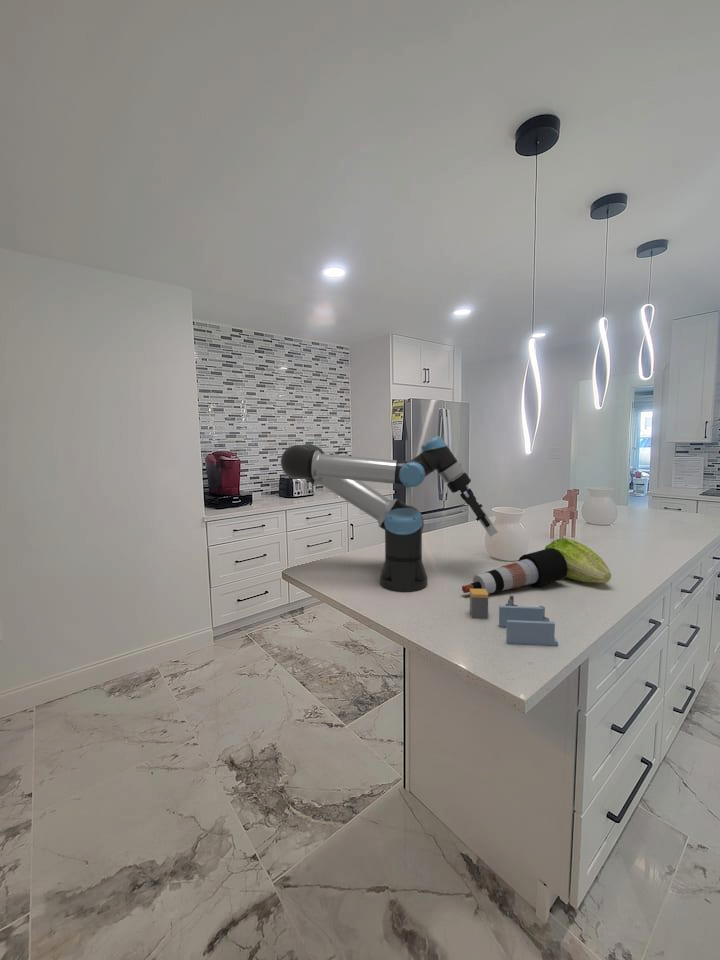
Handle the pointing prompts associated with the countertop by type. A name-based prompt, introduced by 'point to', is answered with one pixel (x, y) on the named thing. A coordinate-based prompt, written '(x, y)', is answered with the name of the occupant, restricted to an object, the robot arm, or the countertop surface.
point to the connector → (479, 603)
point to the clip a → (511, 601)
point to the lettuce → (581, 561)
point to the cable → (523, 572)
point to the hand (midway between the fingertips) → (491, 529)
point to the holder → (526, 625)
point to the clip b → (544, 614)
